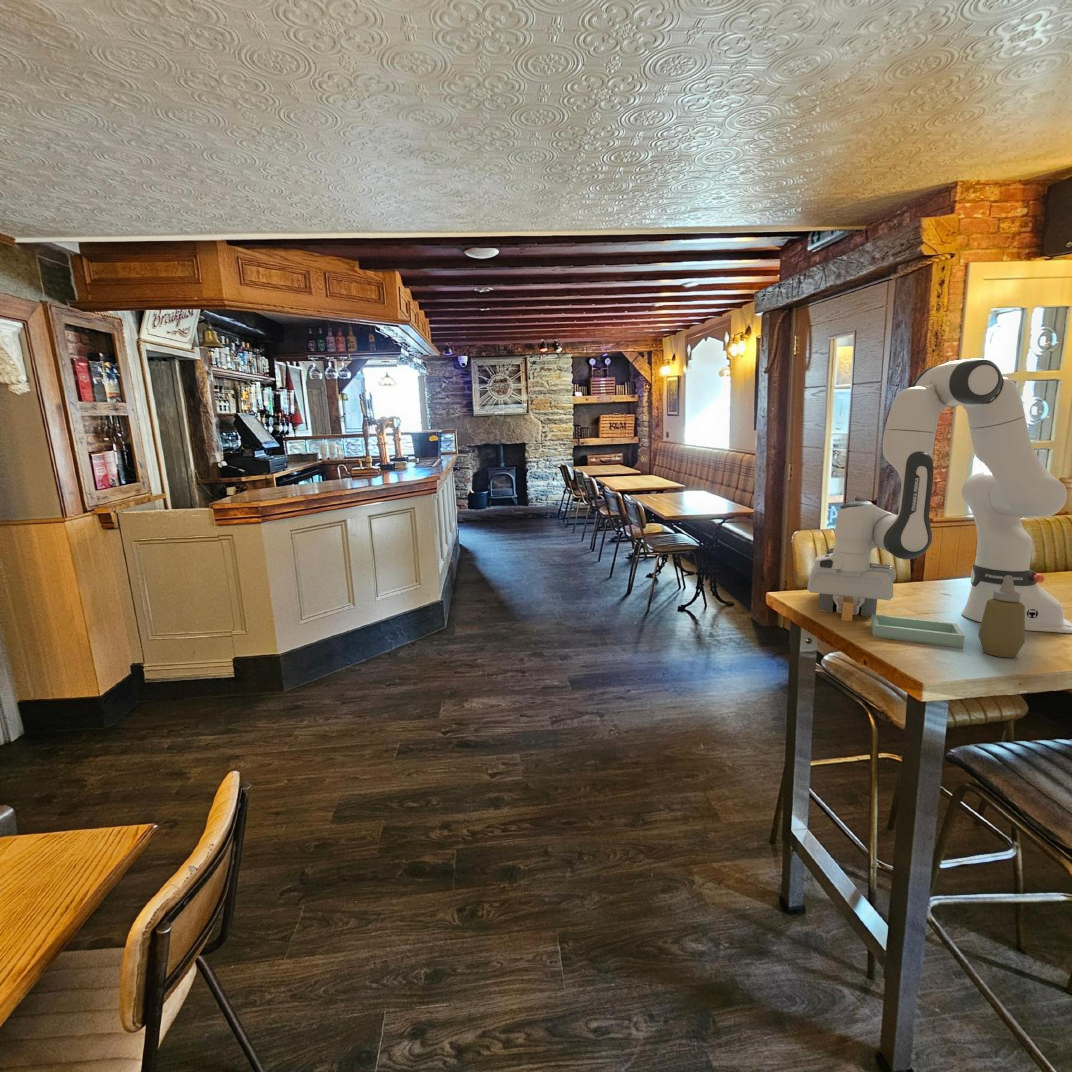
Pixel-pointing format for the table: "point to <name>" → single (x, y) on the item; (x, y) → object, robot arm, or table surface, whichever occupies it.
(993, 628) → the squeeze bottle
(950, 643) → the tray
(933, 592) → the table surface
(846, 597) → the two-tone block
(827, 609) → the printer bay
